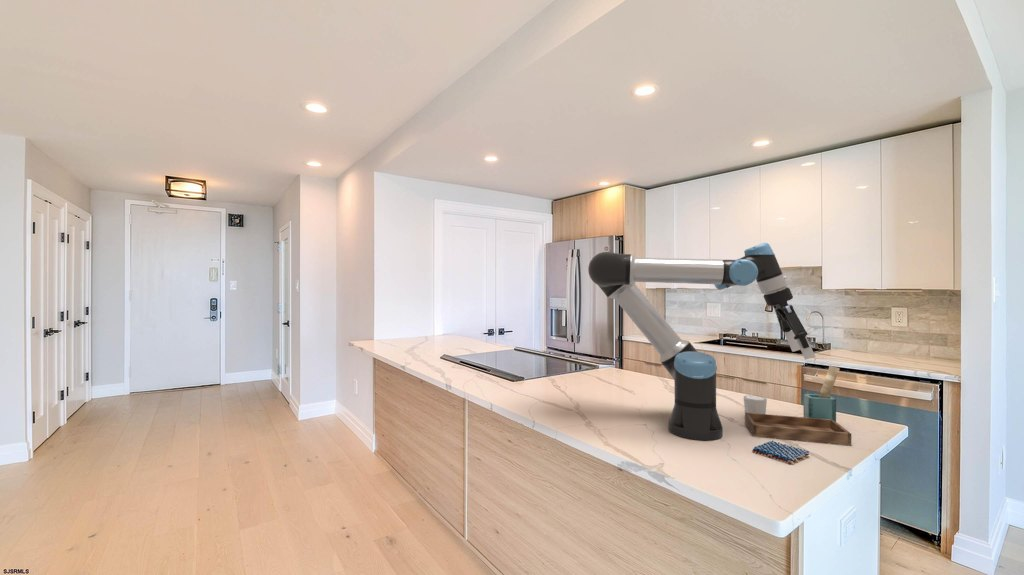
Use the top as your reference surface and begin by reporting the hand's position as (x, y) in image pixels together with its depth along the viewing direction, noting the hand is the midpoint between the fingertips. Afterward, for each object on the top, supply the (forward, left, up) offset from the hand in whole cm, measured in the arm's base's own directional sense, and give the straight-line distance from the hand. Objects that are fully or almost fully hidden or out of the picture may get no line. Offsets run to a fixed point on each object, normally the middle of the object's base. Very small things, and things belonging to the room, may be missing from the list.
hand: (803, 354), depth 137 cm
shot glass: (-12, +6, -23) cm, 27 cm away
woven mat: (-12, -27, -24) cm, 38 cm away
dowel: (+7, +5, -13) cm, 15 cm away
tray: (-4, -7, -23) cm, 24 cm away
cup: (+6, +5, -23) cm, 24 cm away
